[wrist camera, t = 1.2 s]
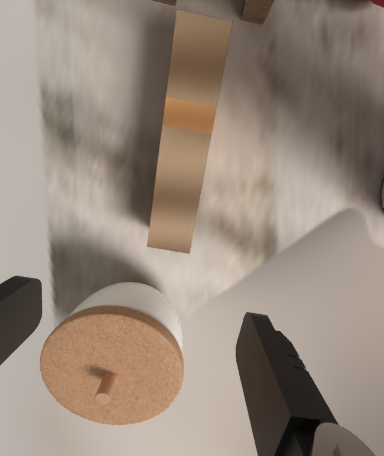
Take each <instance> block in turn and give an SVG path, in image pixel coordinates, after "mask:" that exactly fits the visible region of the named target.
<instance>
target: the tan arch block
mask: <svg viewBox="0 0 384 456" xmlns="http://www.w3.org/2000/svg"><path fill="white" fill-rule="evenodd" d="M153 1H157V2H162V3H167V4H171V5H175V4H176V0H153ZM273 1H274V0H245V2H244V7H243V12H242V17H241V20H245V21H250V22H254V23H259V24H263V22H264V20H265V18H266V16H267V14H268V12H269V10H270V8H271V5H272V3H273Z"/></svg>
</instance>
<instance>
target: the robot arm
mask: <svg viewBox="0 0 384 456" xmlns="http://www.w3.org/2000/svg"><path fill="white" fill-rule="evenodd" d="M381 200H382V206H383V208H384V183H383V186H382V193H381ZM41 286H42V285H41V281H40V280H39V279H35V278H28V277H22V276H14V277H12V278H10V279H8V280H6V281H5V282H3V283H1V284H0V365H1V364H2V363H3V362H4V361H5V360H6V359H7V358H8V357H9V356H10V355H11V354H12V353H13V352H14V351H15V350H16V349H17V348H18V347H19V346H20V345H21V344H22V343H23V342H24V341H25V340H26V339H27V338H28V337H29V336H30V335H31V334H32V333H33V332H34V331H35V329H36V328H37V326H38V325H39V322H40V320H41V317H42V287H41ZM236 362H237V366H238V370H239V375H240V379H241V383H242V388H243V392H244V396H245V401H246V405H247V410H248V414H249V418H250V423H251V427H252V432H253V436H254V440H255V445H256V449H257V453H258V456H376V455H375V454H374V453H373V452H372V451H371V450H370V448H369V447H368V446H367V445H365V443H364V442H363V441H362V440H360V439H359V438H358V437H357V436H356V435H354V434H353V433H352V432H350V431H349V430H347V429H345V428H344V427H341V426H340V425H338V423H337V421H336V420H335V418H334V416H333V414H332V413H331V411H330V409H329V407H328V406H327V404H326V402H325V400H324V399H323V397H322V395H321V393H320V392H319V390H318V388H317V386H316V385H315V383H314V381H313V379H312V378H311V376H310V374H309V372H308V371H306V367H305V365H304V364H303V362H302V360H301V359H299V355H298V353H297V351H296V350H295V348H294V346H293V344H292V343H291V342H290V341H289V340H288V339H287V338H286V337H285V336H284V335H283V334H282V333H281V332H280V331H276V330H275V329H274V327H273V325H272V323H271V321H270V319H269V318H268V316H267V315H262V314H256V313H249V312H247V313H246V314H245V316H244V319H243V323H242V326H241V330H240V333H239V337H238V340H237V344H236Z"/></svg>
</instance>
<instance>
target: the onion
mask: <svg viewBox="0 0 384 456" xmlns="http://www.w3.org/2000/svg"><path fill="white" fill-rule="evenodd" d="M371 1H372V2H373V3H374V4H376V5H379V6H381V7H384V0H371Z"/></svg>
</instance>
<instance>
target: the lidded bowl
mask: <svg viewBox="0 0 384 456" xmlns="http://www.w3.org/2000/svg"><path fill="white" fill-rule="evenodd" d="M40 371H41V374H42V378H43V381H44V383H45V385H46V387H47V389H48V390H49V392H50V393H51V395H53V397H54V398H55V399H56V400H57V401H58V402H59V403H60V404H61V405H62V406H64V407H65V408H67V409H68V410H70V411H71V412H72V413H74V414H76V415H79V416H80V417H83V418H85V419H88V420H91V421H94V422H98V423H103V424H111V425H125V424H134V423H138V422H142V421H145V420H148V419H151V418H153V417H155V416H156V415H158V414H160V413H161V412H163V411H164V410H166V409H167V408H168V407H169V406H170V404H171V403H172V402H173V401H174V400H175V398H176V397H177V395H178V393H179V391H180V389H181V386H182V381H183V339H182V331H181V325H180V321H179V318H178V315H177V313H176V311H175V309H174V307H173V305H172V304H171V302H170V301H169V300H168V299H167V297H165V296H164V295H163V294H162V293H161V292H160V291H158V290H156V289H155V288H153V287H151V286H149V285H146V284H142V283H137V282H122V283H116V284H113V285H110V286H107V287H105V288H102V289H100V290H98V291H97V292H95V293H94V294H92V295H91V296H89V297H88V298H87V299H85V300H84V301H83V302H82V303H81V304H80V305H79V306H78V307H77V308H76V309H75V310H74V311H73V312H72V313H71V314H70V315H69V316H68V317H67V318H66V319H65V320H63V321H62V322H61V323H60V324H59V325H58V326H57V327H56V328H55V329H54V331H53V332H52V333H51V334H50V336H49V337H48V338H47V340H46V341H45V344H44V346H43V349H42V351H41V358H40Z"/></svg>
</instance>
